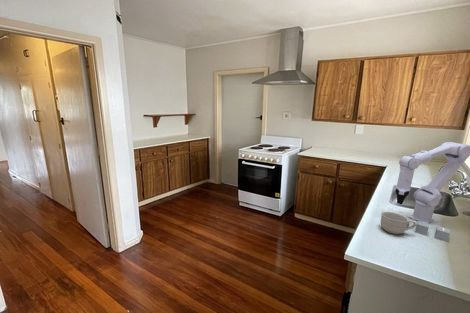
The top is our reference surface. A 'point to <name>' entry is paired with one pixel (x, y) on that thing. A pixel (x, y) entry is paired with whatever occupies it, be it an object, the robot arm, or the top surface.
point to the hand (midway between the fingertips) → (399, 203)
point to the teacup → (395, 223)
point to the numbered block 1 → (442, 233)
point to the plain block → (422, 228)
